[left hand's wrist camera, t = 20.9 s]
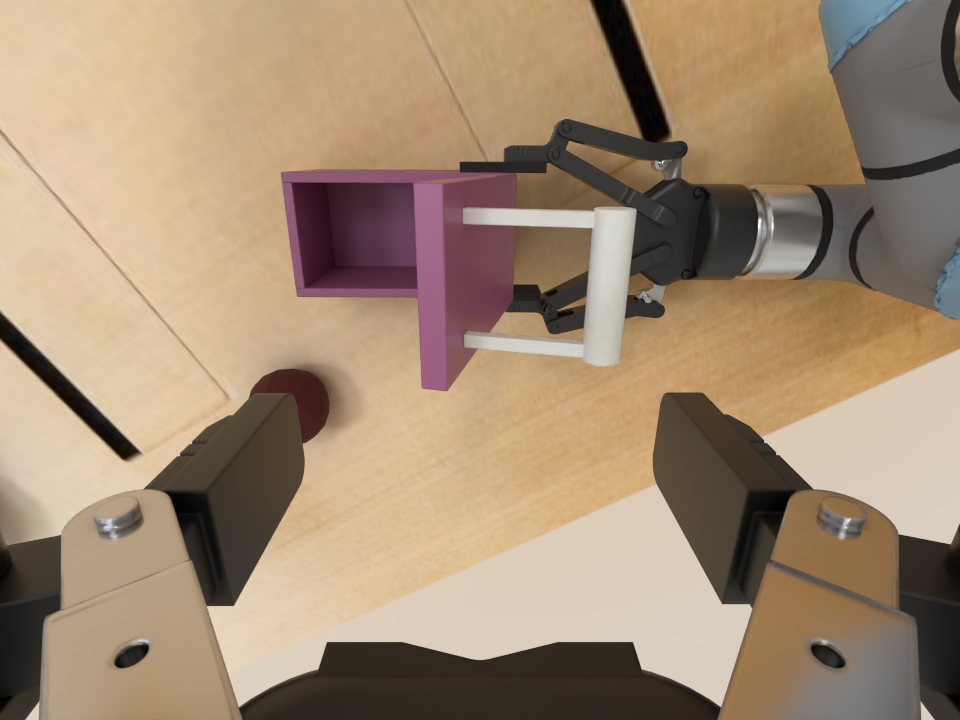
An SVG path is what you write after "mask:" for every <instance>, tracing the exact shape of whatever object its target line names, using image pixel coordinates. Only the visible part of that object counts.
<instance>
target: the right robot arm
mask: <svg viewBox="0 0 960 720" xmlns="http://www.w3.org/2000/svg"><path fill="white" fill-rule="evenodd" d="M819 19H820V23H821V28H822V32H823V36H824V41H825V46H826V51H827V56H828V61H829V63H828V66H827V67H828V69H829V71H830V74H832V76H833V80H834V83H835V86H836V89H837V92H838V95H839V98H840V102H841V105H842V108H843V111H844V114H845V117H846V121H847V124H848V127H849V130H850V133H851V136H852V140H853V143H854V146H855V149H856V152H857V155H858V159H859V162H860V165H861V169H862V172H863V175H864V179H865V182H866V185H817V186H814V185H805V184H754V185H749V186H748V187H745V186H744V185H741V184H690V183H688V182H686V181H685V180H683V179H681V163H682V157H684V156H685V155H686V153H687V150H688V147H687V144H686V143H685V142H683V141H676V142H666V143H657V144H656V143H653V142H649V141H645V140H642V139H638V138H635V137H631V136H627V135H624V134H620V133H617V132H613V131H609V130H606V129H602V128H599V127H595V126H591V125H588V124H584V123H580V122H577V121H573V120H570V119H564V120H562V121H560V122H558V123H557V124H556V125H555V127H554V131H553V133H552V136H551V139H550V141H549V142H548V143H547V144H546V145H544V146H509V147H507V148H505V149H504V162H460V172H496V173H546V167H547V163H551V164H552V165H554V166H556V167H557V168H559V169H561V170H563V171H564V172H566V173H568V174H570V175H571V176H573V177H575V178H577V179H578V180H580V181H582V182H584V183H585V184H587V185H589V186H591V187H592V188H594V189H596V190H598V191H599V192H601V193H603V194H604V195H606V196H608V197H610V198H611V199H613V200H614V201H616V202H618V203H619V204H621V205H623V206H625V207H630V208H635V209H636V210H637V213H636V222H635V231H634V240H633V248H632V257H631V266H630V275H629V277H631V276H633V275H635V274H637V273H639V272H640V273H641V274H643V275H644V276H645V277H646V278H648V279H649V280H650V281H651V284H650V285H649V286H648V287H647V288H644V289H640V290H638V291H637V292H636V295H627V302H626V311H625V318H629V317H634V316H643V317H652V318H659V317H662V316H663V315H664V313H665V308H664V306H663V305H661V304H662V300H663V295H664V291H665V287H666V286H667V285H669V284H671V283H673V282H676V281H679V280H731V279H733V278H737V279H739V280H798V279H807V280H838V281H846V282H850V283H853V284H856V285H859V286H862V287H865V288H868V289H871V290H874V291H879V292H882V293H885V294H888V295H891V296H893V297H896V298H899V299H902V300H905V301H908V302H911V303H914V304H917V305H920V306H923V307H926V308H929V309H931V310H934V311H937V312H940V313H942V314H943V316H946V317H948V318H951V319H960V0H821V2H820V6H819ZM569 141H572V142H576V143H579V144H583V145H587V146H590V147H594V148H598V149H601V150H605V151H609V152H612V153H616V154H620V155H623V156H627V157H631V158H634V159H639V160H647V161H651V167H652V168H653V170H655V171H660V172H662V173H663V175H664V180H662V181H661V182H659V183H658V184H657V185H655V186H654V187H652V188H651V189H649V190H648V191H647V192H645V193H644V194H641V193H640V192H638V191H636V190H634V189H632V188H630V187H628V186H626V185H625V184H623V183H621V182H620V181H618V180H616V179H614V178H613V177H611V176H609V175H608V174H606V173H604V172H602V171H601V170H599V169H597V168H596V167H594V166H592V165H590V164H589V163H587V162H585V161H584V160H582V159H580V158H578V157H577V156H575V155H573V154H572V153H570V152H568V151H566V150H565V149H566V147H567V144H568V142H569ZM588 272H589V271H587V272H585V273H583V274H581V275H579V276H577V277H574V278H572V279H570V280H568V281H566V282H564V283H562V284H560V285H558V286H556V287H554V288H552V289H550V290H548V291H546V292H544V293H542V294H541V292H540V289H539V287H538V285H513V301H512V302H511V304H510V305H509V306H508V308H507V309H506V312H537V313H540V314H541V315H542V316H543V318H544V321H545V324H546V327H547V329H548V331H549V332H550V333H551V334H559V333H563V332H568V331H572V330H576V329H581V328H584V320H585V308H586V305H582V306H578V307H573V308H569V309H565V310H560V311H557V310H559V309H561V308H563V307H565V306H567V305H569V304H571V303H573V302H575V301H577V300H579V299H581V298H583V297H585V296H587V284H588Z"/></svg>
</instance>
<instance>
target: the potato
mask: <svg viewBox="0 0 960 720" xmlns="http://www.w3.org/2000/svg"><path fill="white" fill-rule="evenodd" d="M255 393H291V394H292V395H293V396H294V398H295V400H296V404H297V410H298V417H299V423H300V430H301V437H302V444H303V443H306V442H308V441H309V440H311V439H312V438H313V437H315V436H316V435H317V434H318V433H319V432H320V430H321V429H322V428H323V427H324V425H325V423H326V420H327V417H328V413H329V398H328V394H327V391H326V389H325V386H324V385H323V384H322V382H321V381H320V380H319V379H318V378H317V377H316V376H314V375H312V374H311V373H309V372H306V371H301V370H297V369H282V370H277V371H274V372H272V373H270V374H268V375H265V376H264V377H262V378H261V379H260V380H259V381H258V382H257V383H256V384H255V386H254V387H253V388H252V390H251V393H250V396H249V398H250V397H251V396H252V395H253V394H255Z"/></svg>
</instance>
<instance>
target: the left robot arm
mask: <svg viewBox="0 0 960 720" xmlns="http://www.w3.org/2000/svg"><path fill="white" fill-rule="evenodd" d="M304 466H305V460H304V451H303V444H302V437H301V430H300V423H299V417H298V410H297V404H296V400H295V398H294V396H293V395H292V394H291V393H255V394H253V395H252V396H251V397H250V398H249V399H248V400H247V401H246V402H245V403H244V404H243V405H242V407H241V408H240V409H239V410H238V411H237V412H236V413H235V414H234V415H229V416H227V417H225V418H223V419H221V420H219V421H218V422H216V423H214V424H212V425H210V426H208V427H207V428H206V429H205V430H204V431H203V432H201V433H200V434H199V435H198V436H197V437H196V438H195V439H194V440H193V441H192V444H189V445H188V446H187V447H186V448H185V449H184V450H183V451H182V452H181V453H180V456H177V457H176V458H175V459H174V460H173V461H172V462H171V463H170V464H169V465H168V466H167V467H166V468H165V469H164V470H163V471H162V472H161V473H160V474H159V475H158V476H157V477H155V478H154V479H153V480H152V481H151V482H150V483H149V484H148V485H147V486H146V487H145V488H144V489H143V490H134V491H128V492H124V493H120V494H116V495H113V496H110V497H107V498H105V499H103V500H100V501H98V502H96V503H94V504H92V505H90V506H88V507H87V508H85V509H83V510H82V511H80V512H79V513H78V514H76V515H75V516H74V517H73V518H72V519H71V520H70V521H69V522H68V523H67V524H66V525H65V527H64V529H63V531H62V535H59V536H54V537H49V538H44V539H39V540H34V541H29V542H23V543H18V544H13V545H8V546H7V545H6V543H5V541H4V538H3V536H2V534H1V531H0V720H25V719H26V718H27V717H28V715H29V714H30V713H31V711H32V710H33V709H34V707H35V706H36V705H37V703H38V702H39V701H40V705H39V720H921V704H920V701H921V702H922V703H923V705H924V706H925V707H926V709H927V710H928V711H929V713H930V714H931V715H932V717H933V718H934V719H935V720H960V524H959V527H958V529H957V532H956V534H955V536H954V539H953V541H952V543H951V544H945V543H940V542H935V541H930V540H925V539H920V538H915V537H909V536H904V535H899V534H898V531H897V529H896V527H895V525H894V524H893V523H892V522H891V521H890V520H889V519H888V518H887V517H886V516H885V515H884V514H882V513H881V512H880V511H878V510H877V509H875V508H873V507H872V506H870V505H868V504H866V503H864V502H862V501H860V500H857V499H855V498H853V497H850V496H847V495H844V494H840V493H836V492H832V491H826V490H814V489H813V488H812V487H811V486H810V485H809V484H808V483H807V482H806V481H805V480H804V479H803V478H802V477H801V476H800V475H799V474H798V473H796V472H795V471H794V470H793V469H792V468H791V467H790V466H789V465H788V464H787V463H786V462H785V461H784V460H783V459H782V458H781V457H780V456H779V455H776V452H775V451H774V450H773V449H772V448H771V447H770V446H769V445H768V444H767V443H764V440H763V439H762V438H761V437H760V436H759V435H758V434H757V433H756V432H755V431H754V430H753V429H752V428H751V427H750V426H748V425H746V424H744V423H743V422H741V421H739V420H737V419H735V418H733V417H732V416H730V415H724V414H723V413H722V412H721V411H720V410H719V409H718V408H717V407H716V406H715V405H714V404H713V403H712V402H711V401H710V400H709V399H708V398H707V397H706V396H705V395H704V394H703V393H665V394H664V396H663V397H662V400H661V404H660V411H659V418H658V425H657V431H656V438H655V445H654V452H653V471H654V477H655V480H656V483H657V485H658V487H659V489H660V491H661V493H662V495H663V496H664V498H665V500H666V502H667V504H668V506H669V507H670V509H671V511H672V513H673V515H674V517H675V518H676V520H677V522H678V524H679V526H680V527H681V529H682V531H683V533H684V535H685V537H686V538H687V540H688V542H689V544H690V546H691V548H692V550H693V551H694V553H695V555H696V557H697V559H698V561H699V562H700V564H701V566H702V568H703V570H704V572H705V573H706V575H707V577H708V579H709V581H710V583H711V584H712V586H713V588H714V590H715V592H716V593H717V595H718V597H719V599H720V601H721V603H722V604H750V605H751V607H752V612H751V616H750V619H749V622H748V625H747V628H746V631H745V634H744V638H743V641H742V644H741V647H740V650H739V653H738V656H737V660H736V663H735V666H734V669H733V672H732V675H731V679H730V682H729V685H728V688H727V691H726V694H725V697H724V700H723V704H722V707H720V706H718V705H717V704H715V703H714V702H713V701H711V700H710V699H708V698H706V697H705V696H703V695H701V694H700V693H698V692H696V691H694V690H693V689H691V688H689V687H687V686H685V685H683V684H681V683H678V682H676V681H674V680H672V679H669V678H667V677H664V676H661V675H658V674H655V673H653V672H649V671H645V670H642V669H641V666H640V663H639V660H638V657H637V654H636V650H635V647H634V644H633V642H557V643H553V644H549V645H544V646H541V647H536V648H532V649H528V650H524V651H520V652H516V653H512V654H508V655H504V656H500V657H496V658H491V659H487V660H473V659H469V658H465V657H460V656H456V655H452V654H448V653H444V652H440V651H436V650H432V649H428V648H424V647H420V646H416V645H412V644H408V643H403V642H327V644H326V647H325V650H324V654H323V657H322V660H321V663H320V666H319V669H318V670H315V671H311V672H307V673H305V674H302V675H299V676H296V677H293V678H291V679H288V680H286V681H284V682H282V683H280V684H277V685H275V686H273V687H271V688H269V689H267V690H266V691H264V692H262V693H260V694H259V695H257V696H255V697H254V698H252V699H250V700H249V701H247V702H246V703H245V704H243V705H242V706H240V707H238V704H237V700H236V697H235V694H234V691H233V688H232V685H231V681H230V678H229V675H228V672H227V669H226V666H225V663H224V659H223V656H222V653H221V650H220V647H219V644H218V641H217V637H216V634H215V631H214V628H213V625H212V622H211V619H210V615H209V612H208V609H207V606H234V605H235V603H236V601H237V599H238V597H239V595H240V594H241V592H242V590H243V588H244V586H245V585H246V583H247V581H248V579H249V577H250V576H251V574H252V572H253V570H254V568H255V567H256V565H257V563H258V561H259V559H260V557H261V556H262V554H263V552H264V550H265V548H266V547H267V545H268V543H269V541H270V539H271V538H272V536H273V534H274V532H275V530H276V528H277V527H278V525H279V523H280V521H281V519H282V518H283V516H284V514H285V512H286V510H287V509H288V507H289V505H290V503H291V501H292V500H293V498H294V496H295V494H296V492H297V490H298V489H299V487H300V485H301V482H302V479H303V474H304Z"/></svg>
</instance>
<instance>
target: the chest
mask: <svg viewBox="0 0 960 720" xmlns="http://www.w3.org/2000/svg"><path fill="white" fill-rule="evenodd" d="M488 174H498V173H496V172H460V170H308V171H291V172H281V178H282V182H283V183H282V185H283V193H284V201H285V208H286V216H287V224H288V232H289V239H290V247H291V255H292V262H293V270H294V278H295V285H296V292H297V297H418V285H417V261H416V236H415V212H414V188H413V184H414V183H415V182H423V181H432V180H442V179H451V178H460V177H470V176H479V175H488Z"/></svg>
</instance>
